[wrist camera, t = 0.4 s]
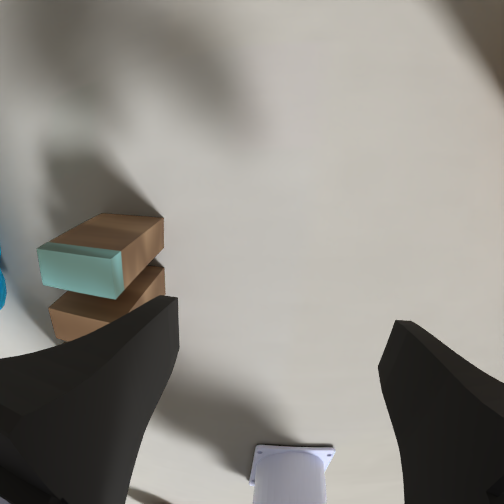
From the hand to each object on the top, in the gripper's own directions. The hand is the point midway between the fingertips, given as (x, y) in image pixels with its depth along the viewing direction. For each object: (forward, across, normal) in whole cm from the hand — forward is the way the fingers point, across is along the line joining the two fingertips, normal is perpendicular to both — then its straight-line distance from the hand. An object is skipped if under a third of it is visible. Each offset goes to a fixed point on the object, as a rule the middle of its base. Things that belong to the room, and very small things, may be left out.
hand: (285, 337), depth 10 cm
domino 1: (+10, +10, 0) cm, 14 cm away
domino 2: (+10, +10, +4) cm, 14 cm away
